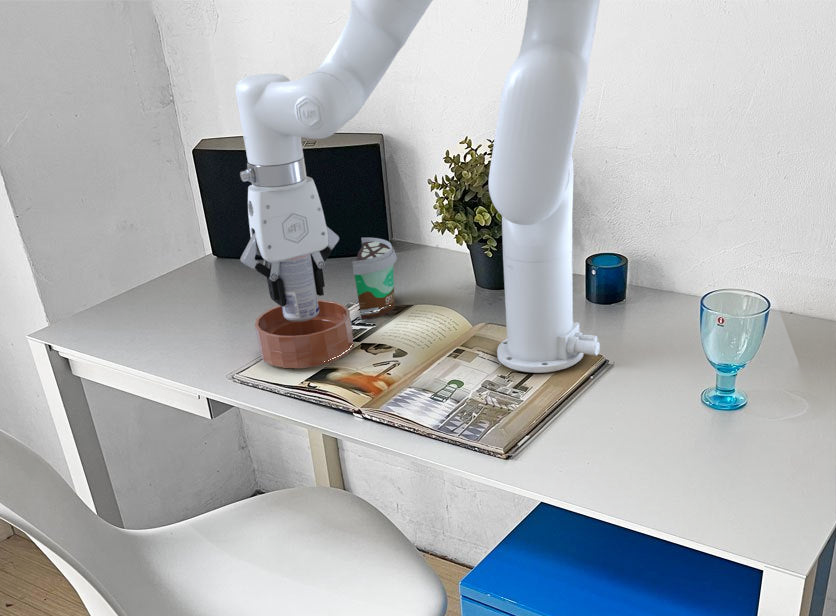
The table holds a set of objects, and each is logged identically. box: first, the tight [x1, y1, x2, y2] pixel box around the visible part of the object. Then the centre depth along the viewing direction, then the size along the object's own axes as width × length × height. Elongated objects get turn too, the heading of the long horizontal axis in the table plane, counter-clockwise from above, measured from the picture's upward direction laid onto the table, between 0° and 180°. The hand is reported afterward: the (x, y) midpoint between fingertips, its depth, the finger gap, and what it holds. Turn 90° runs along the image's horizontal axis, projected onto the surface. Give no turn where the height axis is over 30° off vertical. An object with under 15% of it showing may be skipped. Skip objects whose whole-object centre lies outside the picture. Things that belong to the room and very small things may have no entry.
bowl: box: [254, 299, 355, 369], centre depth 148 cm, size 14×14×6 cm
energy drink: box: [278, 254, 319, 322], centre depth 143 cm, size 5×5×12 cm
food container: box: [352, 237, 398, 320], centre depth 160 cm, size 12×6×10 cm, turn 179°
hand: (298, 297), depth 144 cm, fingers closed on energy drink, 5 cm apart
